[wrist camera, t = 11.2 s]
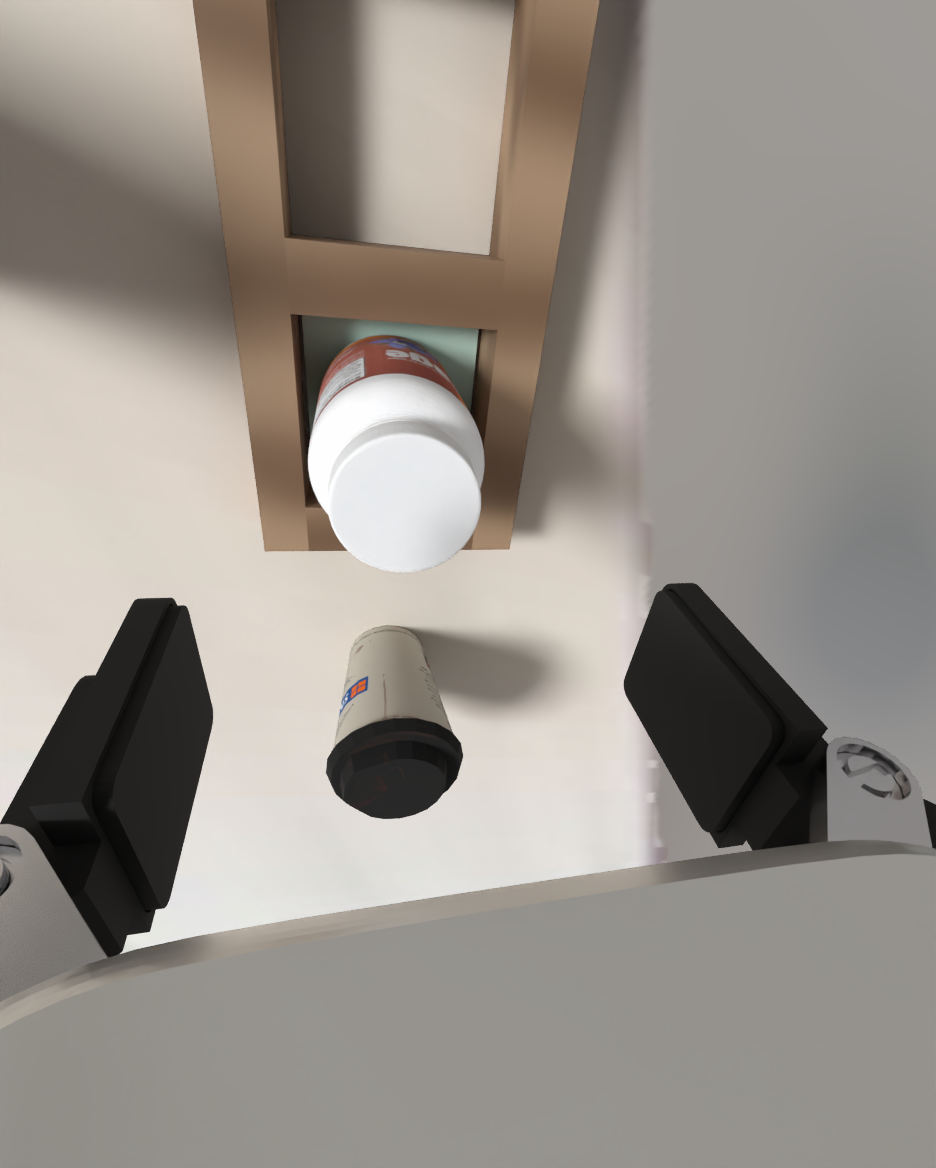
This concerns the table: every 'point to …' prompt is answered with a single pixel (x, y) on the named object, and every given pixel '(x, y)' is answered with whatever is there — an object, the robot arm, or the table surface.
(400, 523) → the pill bottle
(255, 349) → the holder frame
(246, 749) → the table surface
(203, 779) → the table surface
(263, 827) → the table surface
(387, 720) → the coffee cup
